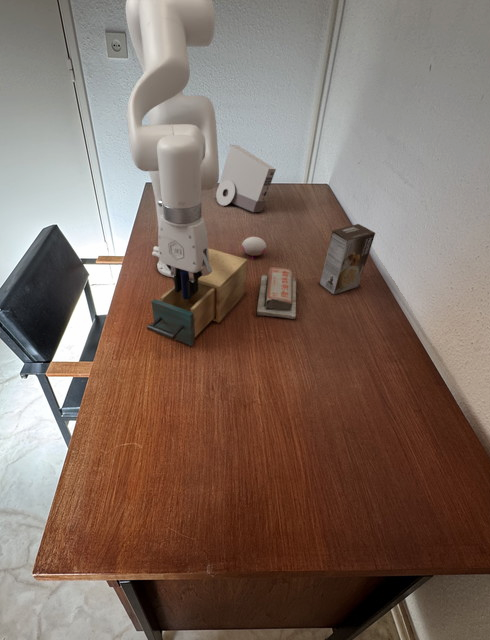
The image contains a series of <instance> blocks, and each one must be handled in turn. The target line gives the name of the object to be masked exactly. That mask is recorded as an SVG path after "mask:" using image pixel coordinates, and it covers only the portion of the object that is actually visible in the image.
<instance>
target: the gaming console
mask: <svg viewBox="0 0 490 640" xmlns="http://www.w3.org/2000/svg"><path fill="white" fill-rule="evenodd" d="M223 165H224V166H223V168H222V173H221V176H220V181H219V183H218V185H217V188H216V192H215V197H216V201H217V203H218V204H219V205H220V206H223V207H224V206H228V205H229V204H233V205H235V206H238V207H240V208H242V209H245V210H247V211H249V212H251V213H259V212H263V209H264V206H265V203H266V198H267V195H268V193H269V190H270V187H271V184H272V181H273V179H274V176H275V173H276V170H277V168H275V167H274V166H272V165H270V164H269V163H268V162H265V161H264V160H263V159H260V158H259V157H257V156H256V155H255V154H253V153H251V152H250V151H248V150H246V149H245V148H244V147H242V146H240V145H237V144H229V148H228V151H227V155H226V158H225V162H224V164H223Z"/></svg>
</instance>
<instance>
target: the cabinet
mask: <svg viewBox="0 0 490 640" xmlns="http://www.w3.org/2000/svg"><path fill="white" fill-rule="evenodd" d="M208 250H209V259H208V262H209V264H210V266H211V269H212V272H211V273H210V274H209V275H206V276H201V277H200V278H198V283H201V284H204V285H207V286H211V287H214V288H217V297H216V316H215V317H214V318H213V319H212V320H211V321H212V322H216V323H218V324H219V323H220V322H221V321H222V320H224V318H225V317H226V316H227V315H228V314H229V312H230V311H231V310H232V309H233V308H234V307H235V306H236V305H237V303H238V302H240V301H241V299H242V298H243V297H244V296H245V294H246V284H247V283H246V281H247V270H248V269H247V268H248V258H244V257H240V256H238V255H235V254H230V253H226V252H223V251H220V250H217V249H213V248H209V247H208ZM201 269H203V268H201Z"/></svg>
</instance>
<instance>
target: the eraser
mask: <svg viewBox="0 0 490 640" xmlns="http://www.w3.org/2000/svg"><path fill="white" fill-rule="evenodd" d="M180 275H181V286H182V297H183V299H191V297H189V296H188V287H187V282H188V281H189V272H188V271H185V270H182V269H181V270H180Z"/></svg>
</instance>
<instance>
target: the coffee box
mask: <svg viewBox="0 0 490 640" xmlns="http://www.w3.org/2000/svg"><path fill="white" fill-rule="evenodd" d="M331 231H332V232H331V236H330V240H329V243H328V244H329V245H328V248H327V253H326V256H325V261H324V265H323V266H324V267H323V270H322V273H321V278H320V283H319V284H320V285H321V286H322V287H323V288H325V289H326V290H327V291H328V292H330V293H331V294H332V295H337V294H340V293H343V292H347V291H349V290H352V289H355V288H358V287H359V286H360V283H361V279H362V276H363V273H364V270H365V268H366V267H365V266H366V264H367V261H368V257H369V255H370V252H371V248H372V245H373V242H374V239H375V235H376V232H374V231H373V230H371V229H370V228H368V227H366V226H364V225H361V224H360V223H357V224H352V225H348V226H345V227H340V228H337V229H333V230H331Z"/></svg>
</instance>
